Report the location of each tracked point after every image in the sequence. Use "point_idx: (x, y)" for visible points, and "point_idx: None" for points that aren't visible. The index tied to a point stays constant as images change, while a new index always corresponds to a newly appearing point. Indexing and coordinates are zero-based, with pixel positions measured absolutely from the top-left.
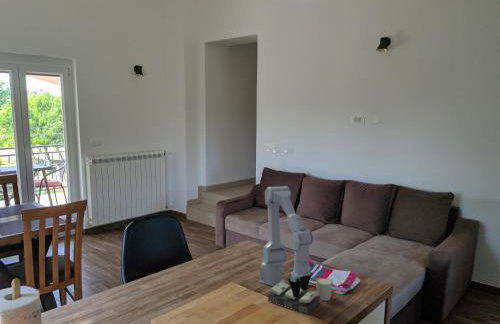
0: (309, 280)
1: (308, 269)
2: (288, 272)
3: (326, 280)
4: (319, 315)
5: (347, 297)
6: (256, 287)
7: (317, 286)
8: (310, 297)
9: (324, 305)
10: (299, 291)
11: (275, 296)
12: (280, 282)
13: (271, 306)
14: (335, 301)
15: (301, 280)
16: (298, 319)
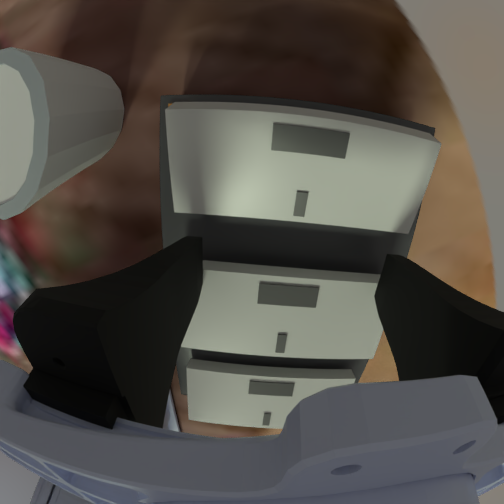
0: (121, 273)
1: (64, 453)
2: (23, 362)
3: None
4: (374, 47)
5: (21, 16)
6: (229, 433)
7: (64, 169)
8: (377, 137)
9: (194, 53)
10: (430, 279)
11: (359, 376)
12: (216, 419)
13: (386, 344)
14: (93, 27)
15: (175, 351)
16: (475, 172)
